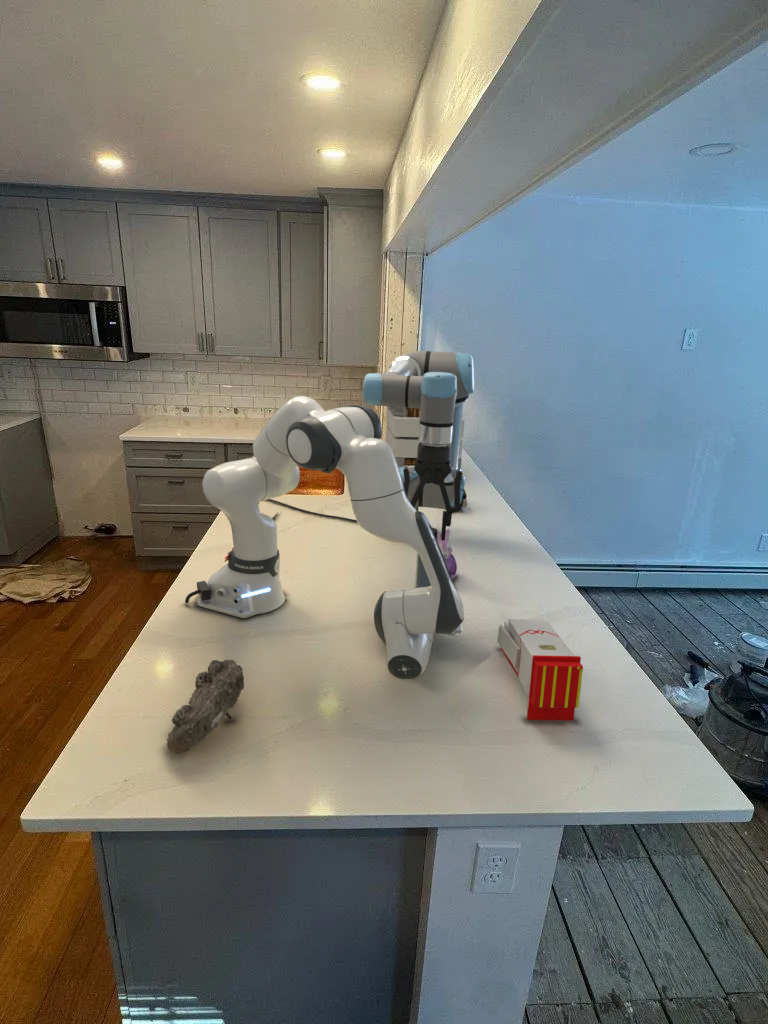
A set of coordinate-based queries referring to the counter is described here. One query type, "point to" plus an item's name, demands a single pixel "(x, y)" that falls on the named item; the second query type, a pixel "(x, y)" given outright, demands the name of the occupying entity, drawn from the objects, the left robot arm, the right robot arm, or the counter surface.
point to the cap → (435, 532)
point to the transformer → (407, 434)
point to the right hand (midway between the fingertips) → (427, 537)
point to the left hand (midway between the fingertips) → (423, 600)
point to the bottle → (421, 574)
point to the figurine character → (463, 501)
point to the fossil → (206, 705)
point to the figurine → (447, 553)
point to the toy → (542, 668)
